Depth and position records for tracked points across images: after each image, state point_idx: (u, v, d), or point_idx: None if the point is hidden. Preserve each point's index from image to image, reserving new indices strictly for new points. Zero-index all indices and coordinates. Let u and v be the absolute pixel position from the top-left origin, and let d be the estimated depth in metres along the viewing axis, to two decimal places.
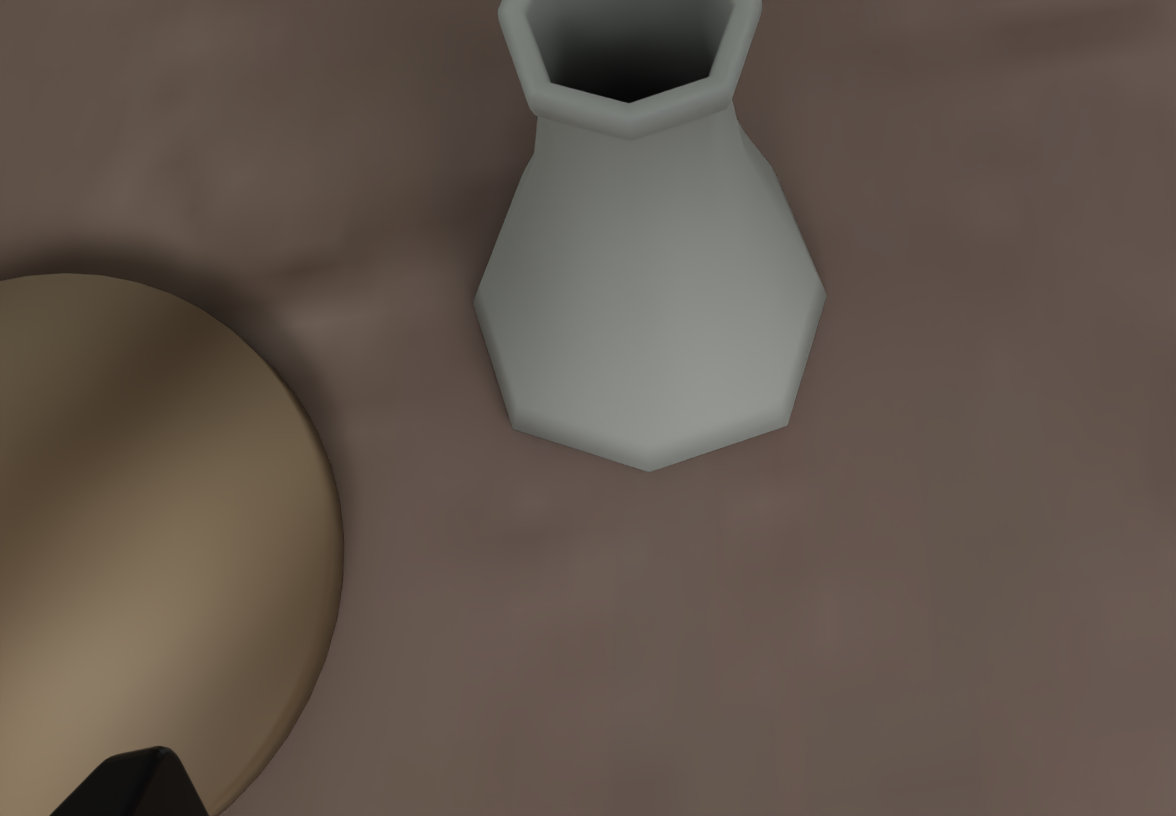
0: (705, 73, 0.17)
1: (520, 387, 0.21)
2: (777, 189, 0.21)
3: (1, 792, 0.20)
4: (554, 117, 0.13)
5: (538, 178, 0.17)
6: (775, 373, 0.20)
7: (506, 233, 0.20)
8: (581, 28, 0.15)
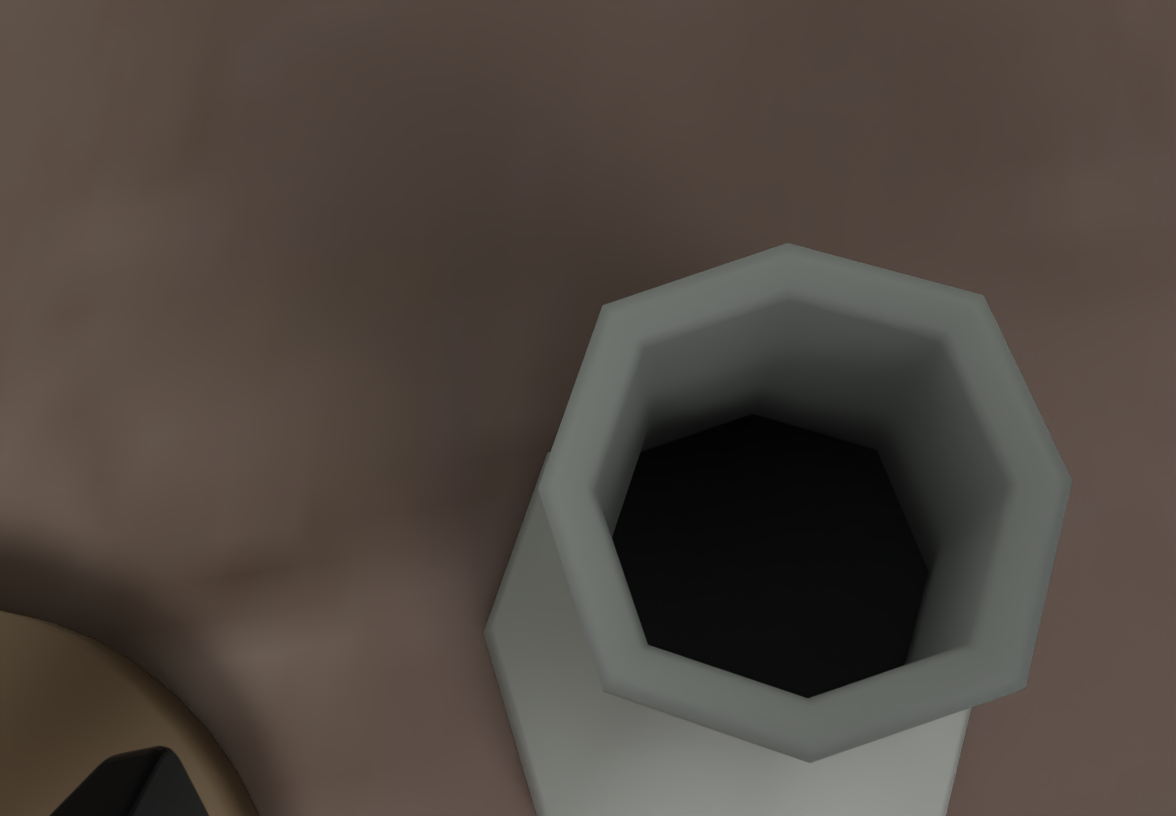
0: (872, 442, 0.10)
1: (554, 804, 0.14)
2: None
3: None
4: None
5: None
6: (936, 794, 0.14)
7: (535, 609, 0.13)
8: (676, 412, 0.09)
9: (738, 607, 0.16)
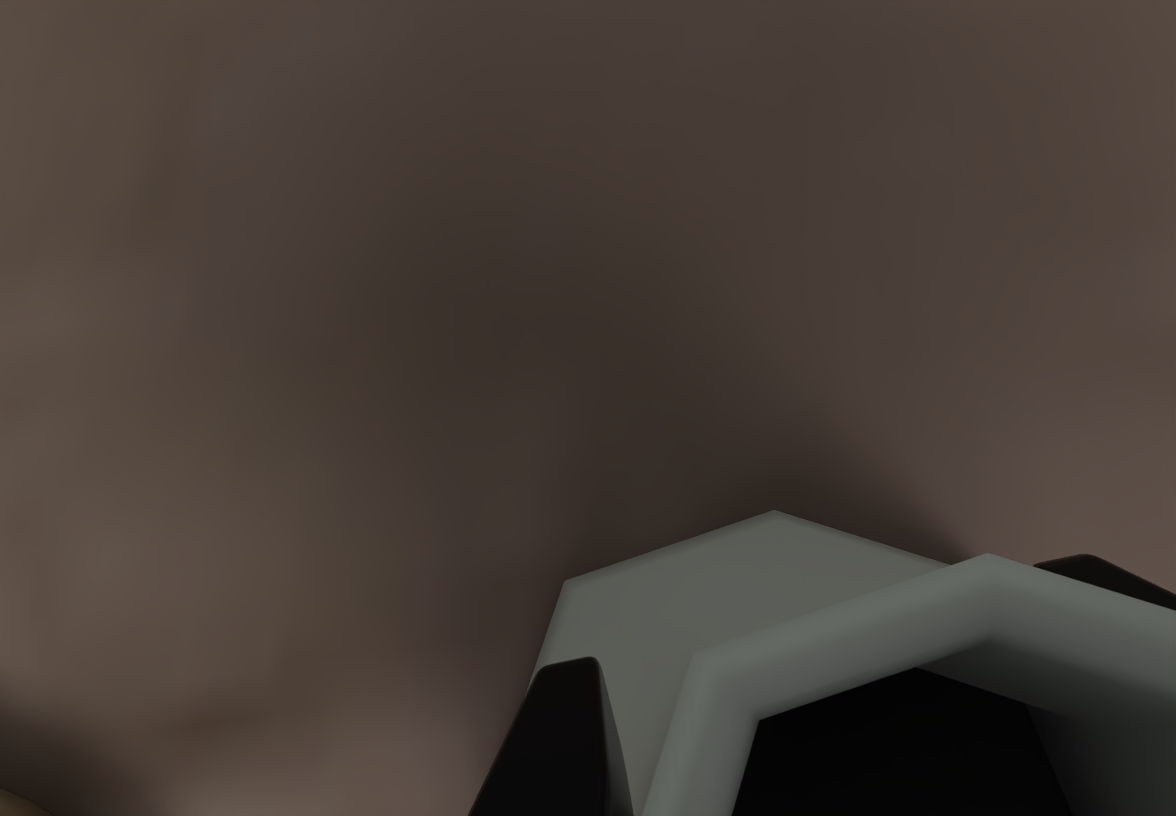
0: None
1: None
2: None
3: None
4: None
5: None
6: None
7: None
8: None
9: (791, 771, 0.14)
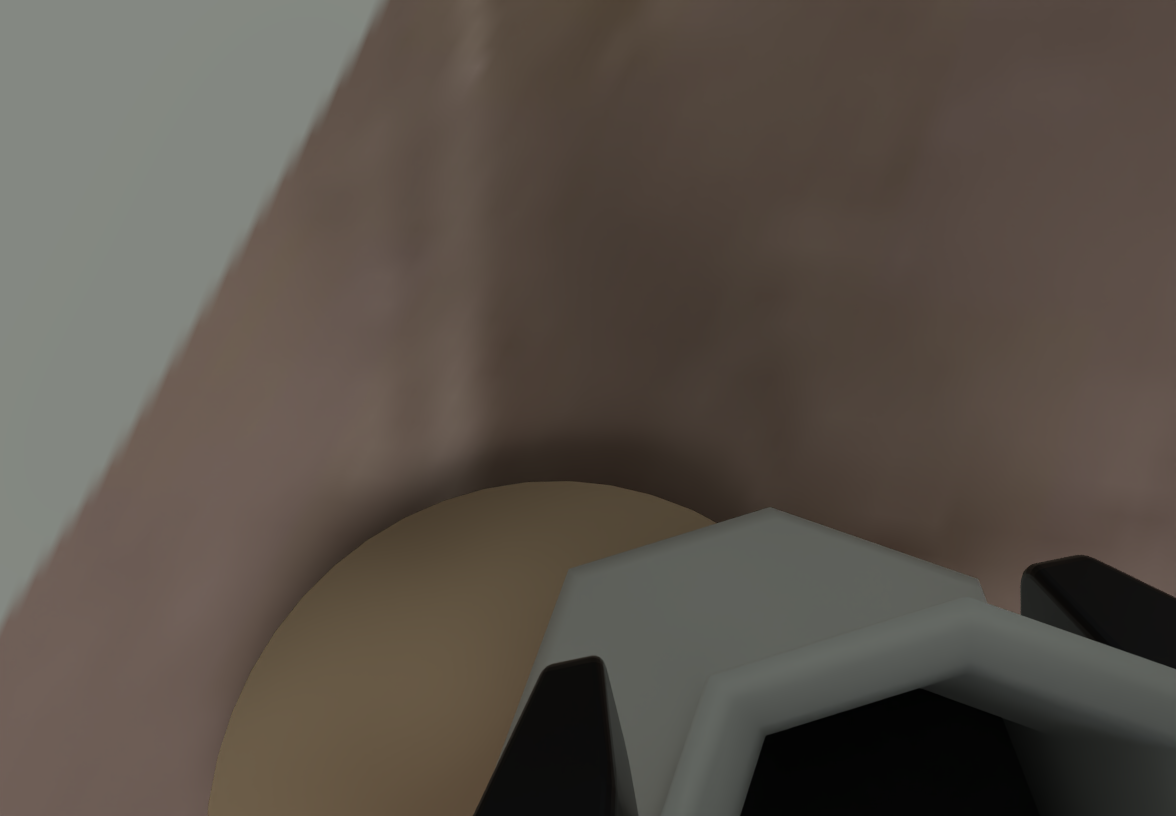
0: None
1: None
2: None
3: None
4: None
5: None
6: None
7: None
8: None
9: (778, 754, 0.14)
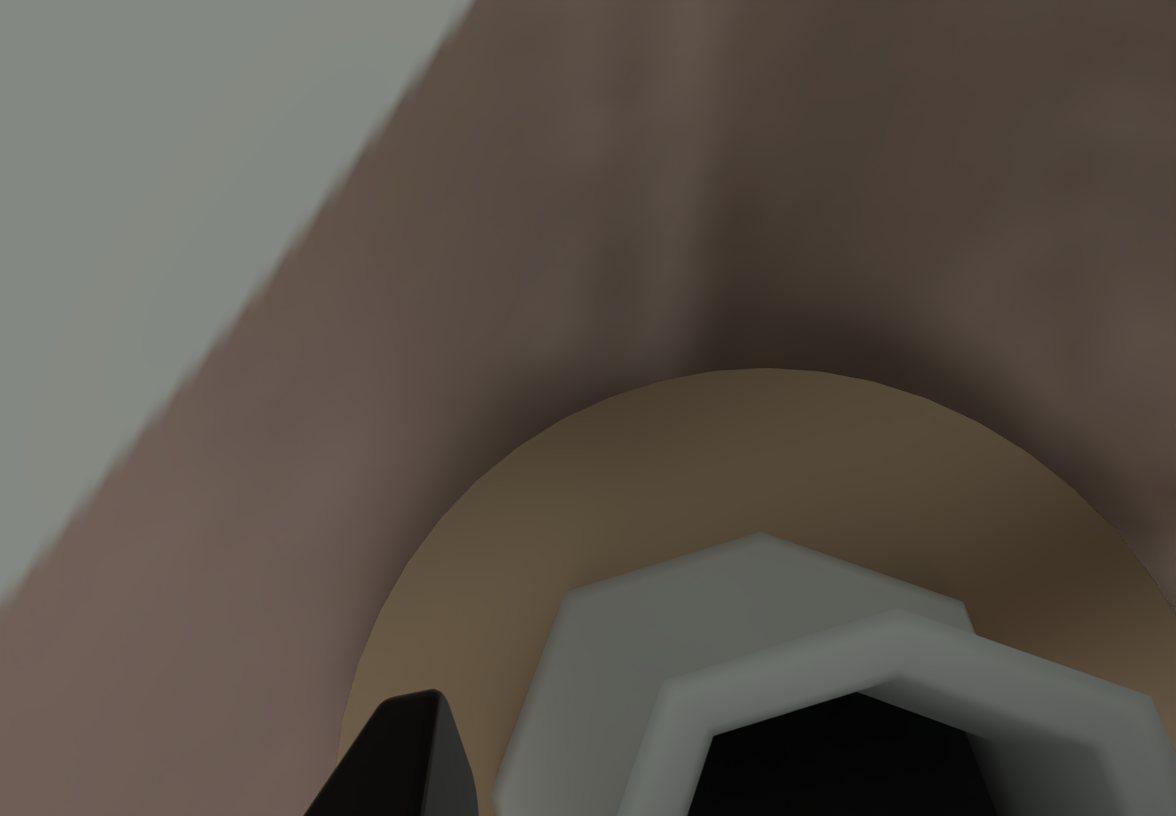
0: None
1: None
2: None
3: None
4: None
5: None
6: None
7: None
8: None
9: (769, 774, 0.15)
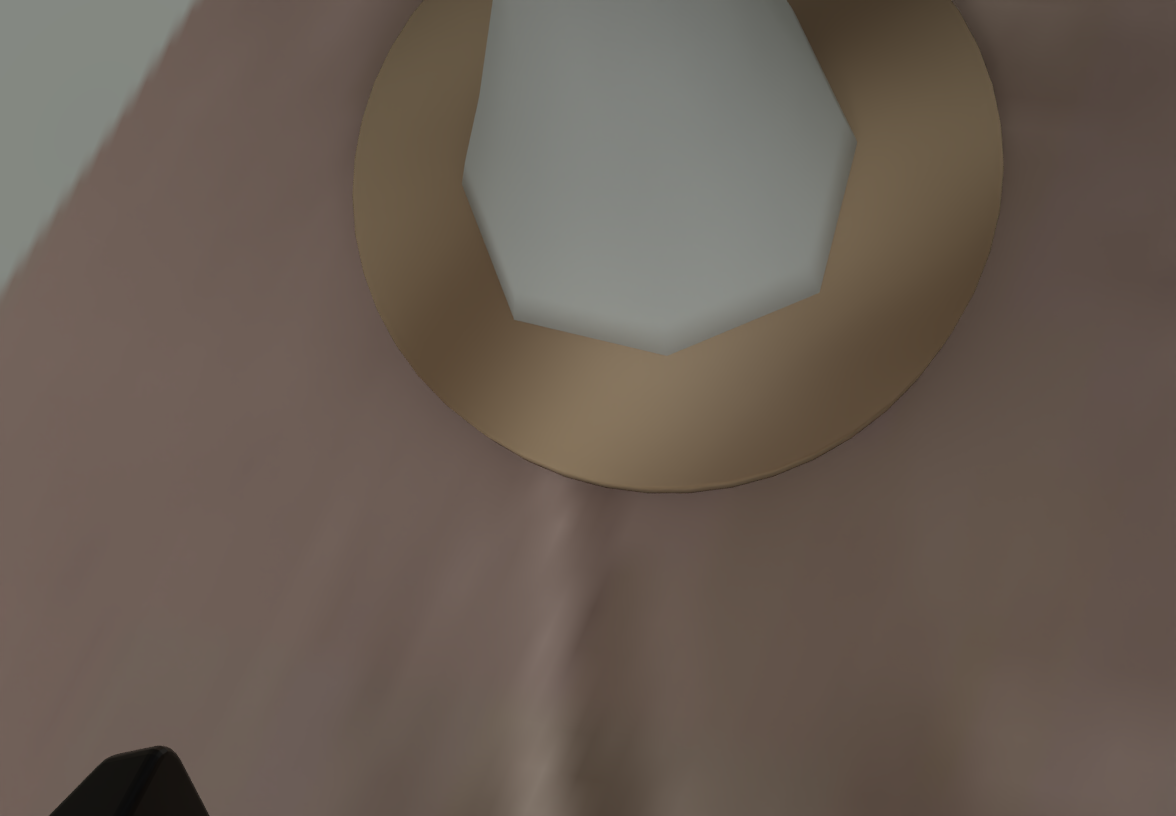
0: None
1: (515, 270, 0.19)
2: (791, 21, 0.19)
3: (611, 375, 0.20)
4: None
5: (499, 16, 0.15)
6: (800, 231, 0.18)
7: (480, 93, 0.17)
8: None
9: None
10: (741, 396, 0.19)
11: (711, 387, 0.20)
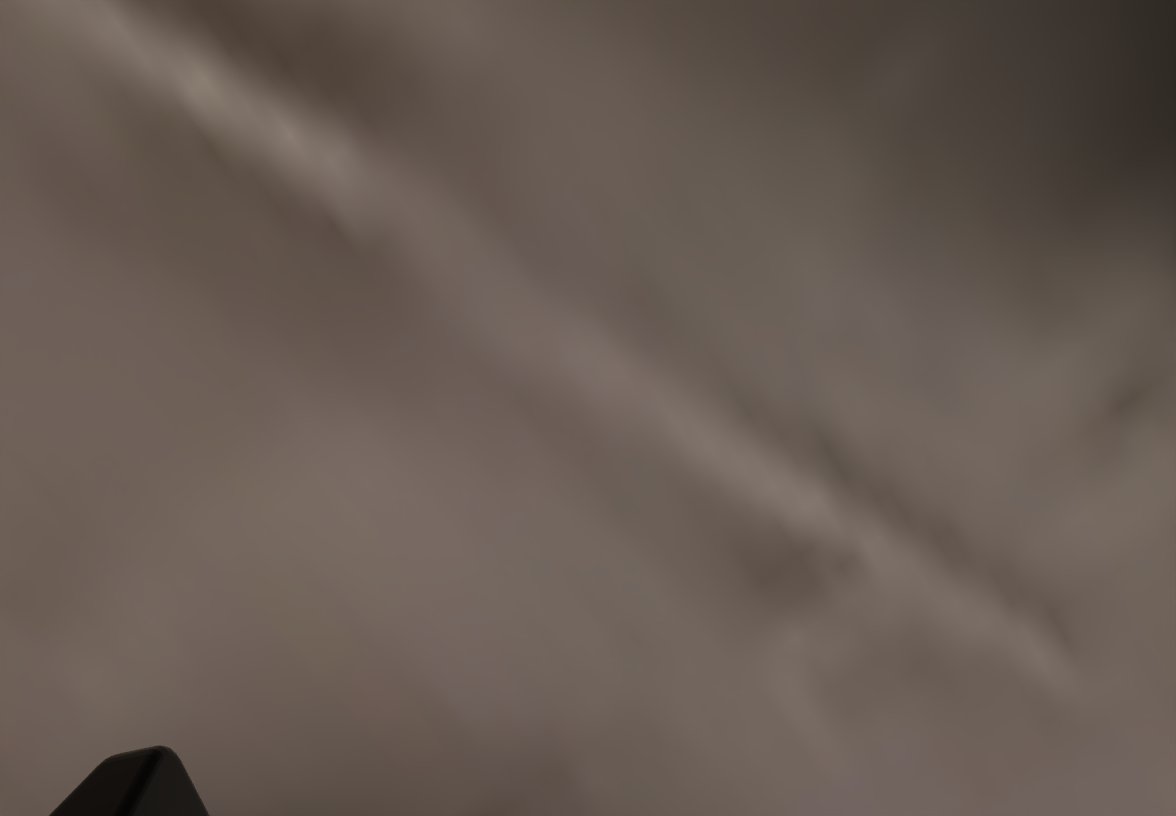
0: None
1: None
2: None
3: None
4: None
5: None
6: None
7: None
8: None
9: None
10: None
11: None
